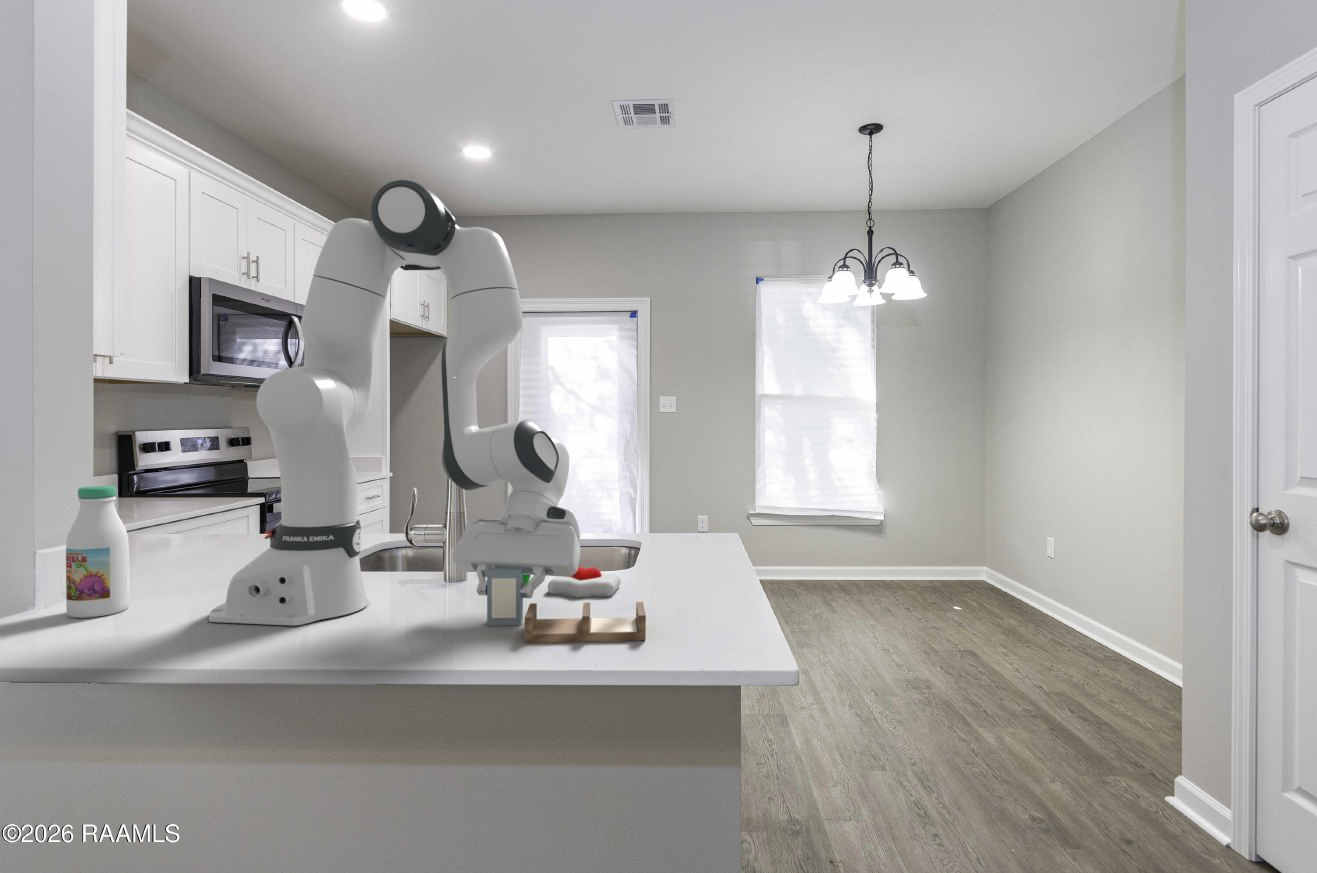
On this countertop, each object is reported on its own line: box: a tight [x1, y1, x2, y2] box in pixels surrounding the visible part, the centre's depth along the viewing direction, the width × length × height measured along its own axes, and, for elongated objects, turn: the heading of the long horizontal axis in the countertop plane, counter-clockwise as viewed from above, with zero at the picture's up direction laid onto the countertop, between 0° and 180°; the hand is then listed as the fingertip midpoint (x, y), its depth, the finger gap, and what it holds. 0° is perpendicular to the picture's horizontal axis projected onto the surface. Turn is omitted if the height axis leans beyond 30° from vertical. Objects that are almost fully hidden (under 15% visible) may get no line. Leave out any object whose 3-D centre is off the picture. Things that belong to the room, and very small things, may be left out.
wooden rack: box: [524, 601, 647, 644], centre depth 98 cm, size 17×7×4 cm, turn 95°
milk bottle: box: [65, 485, 131, 619], centre depth 106 cm, size 8×8×20 cm
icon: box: [547, 566, 622, 599], centre depth 121 cm, size 12×4×10 cm
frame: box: [486, 568, 524, 627], centre depth 102 cm, size 5×3×8 cm, turn 95°
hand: (503, 595), depth 102 cm, fingers closed on frame, 6 cm apart
